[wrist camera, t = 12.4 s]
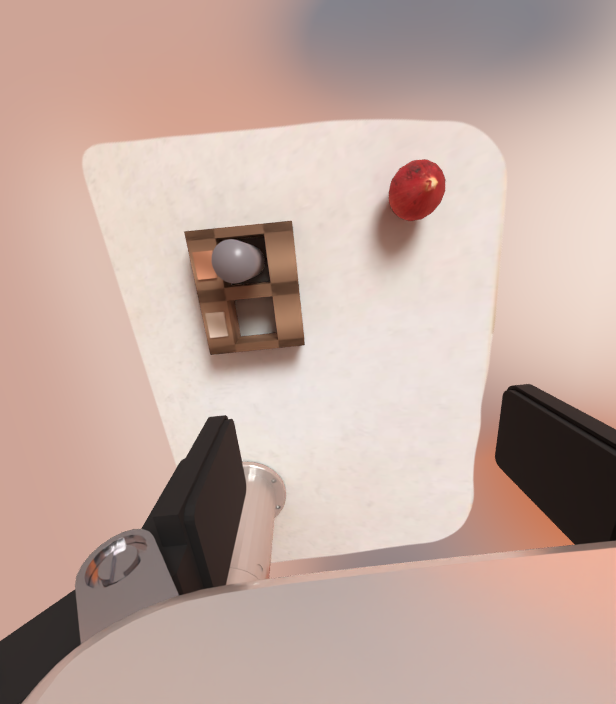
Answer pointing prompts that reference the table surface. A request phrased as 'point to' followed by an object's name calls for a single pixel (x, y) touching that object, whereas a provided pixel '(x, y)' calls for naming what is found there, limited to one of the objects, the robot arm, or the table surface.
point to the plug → (237, 261)
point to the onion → (416, 189)
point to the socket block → (247, 288)
